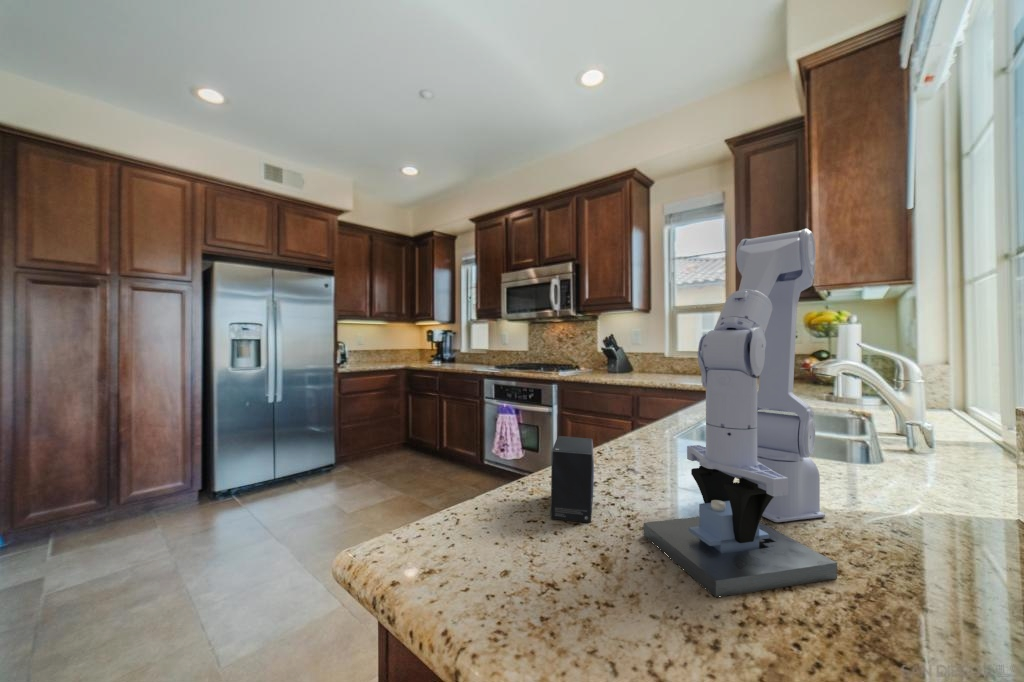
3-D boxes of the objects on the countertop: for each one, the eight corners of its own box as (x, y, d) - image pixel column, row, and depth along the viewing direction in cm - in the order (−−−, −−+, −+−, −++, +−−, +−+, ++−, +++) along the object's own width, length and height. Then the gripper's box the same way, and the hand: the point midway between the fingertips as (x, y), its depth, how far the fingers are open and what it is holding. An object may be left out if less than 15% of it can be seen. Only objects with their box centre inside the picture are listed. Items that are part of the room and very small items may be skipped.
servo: (747, 539, 54) (747, 492, 54) (771, 554, 50) (771, 504, 50) (689, 547, 52) (689, 498, 52) (709, 562, 48) (709, 510, 48)
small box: (593, 524, 59) (593, 453, 60) (549, 520, 61) (549, 450, 61) (593, 497, 70) (593, 436, 70) (556, 494, 71) (556, 435, 71)
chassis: (741, 524, 60) (741, 512, 60) (837, 578, 46) (837, 562, 46) (643, 535, 56) (643, 522, 56) (715, 597, 42) (715, 580, 42)
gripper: (668, 415, 57) (668, 511, 57) (750, 439, 43) (749, 567, 43) (711, 413, 59) (711, 507, 59) (803, 436, 45) (803, 559, 45)
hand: (730, 532), depth 51 cm, fingers closed on servo, 4 cm apart
